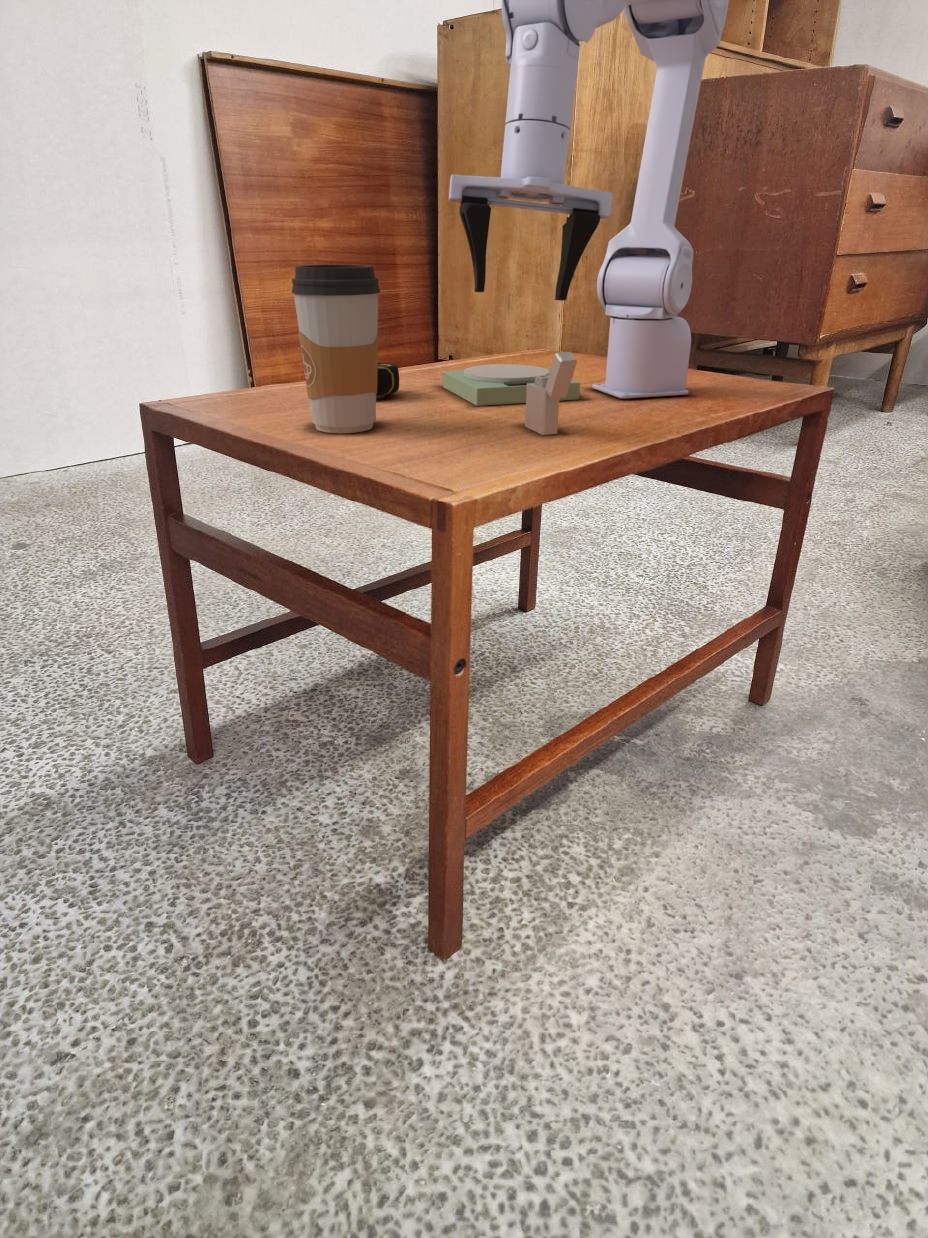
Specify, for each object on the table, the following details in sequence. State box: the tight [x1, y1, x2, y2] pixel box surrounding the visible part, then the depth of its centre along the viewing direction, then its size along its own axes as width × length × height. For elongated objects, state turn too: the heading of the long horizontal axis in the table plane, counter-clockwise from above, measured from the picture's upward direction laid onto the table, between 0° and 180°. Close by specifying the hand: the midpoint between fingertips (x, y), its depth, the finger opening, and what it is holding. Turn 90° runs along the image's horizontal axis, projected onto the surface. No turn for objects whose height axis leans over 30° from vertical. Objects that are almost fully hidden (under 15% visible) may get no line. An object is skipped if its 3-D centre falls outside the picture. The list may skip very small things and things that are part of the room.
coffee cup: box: [291, 264, 381, 434], centre depth 78 cm, size 8×8×15 cm
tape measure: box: [376, 362, 400, 400], centre depth 96 cm, size 7×7×4 cm
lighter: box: [524, 351, 578, 436], centre depth 78 cm, size 7×2×8 cm, turn 22°
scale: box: [442, 363, 581, 407], centre depth 98 cm, size 13×13×3 cm
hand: (520, 295), depth 74 cm, fingers open, 7 cm apart
